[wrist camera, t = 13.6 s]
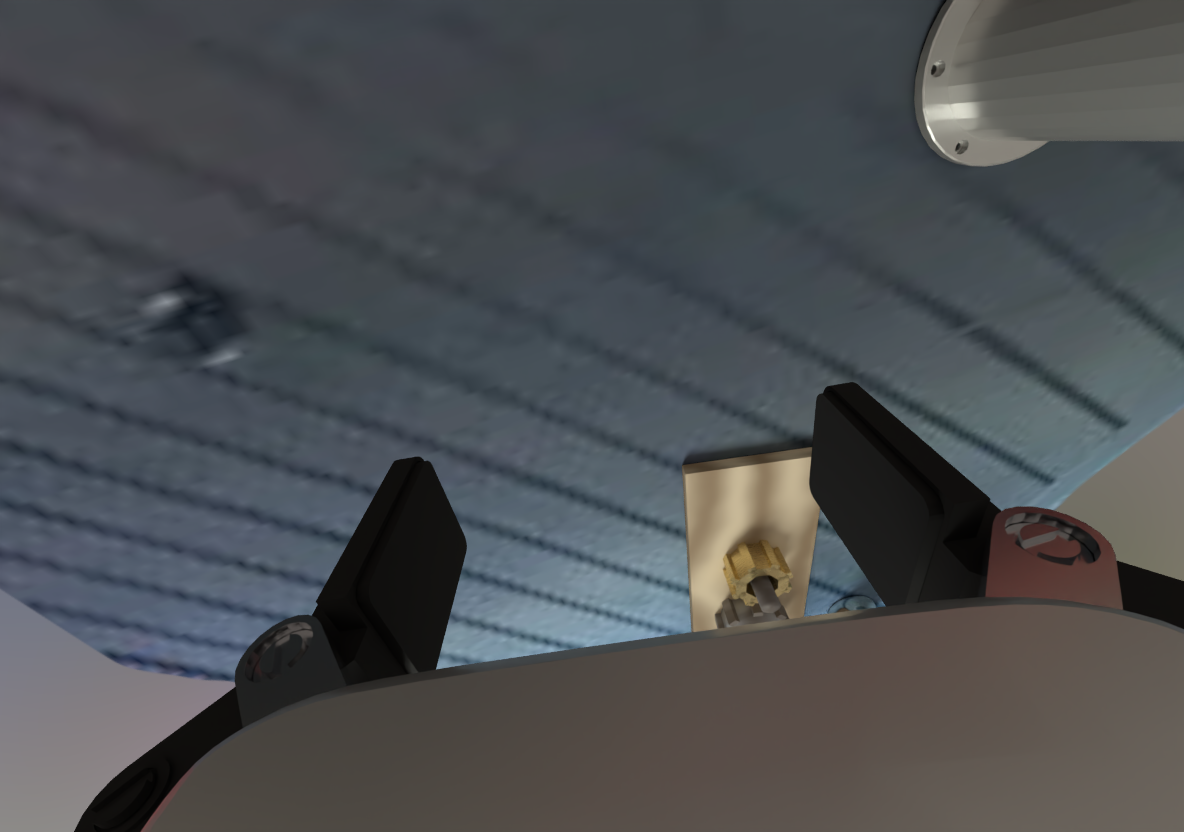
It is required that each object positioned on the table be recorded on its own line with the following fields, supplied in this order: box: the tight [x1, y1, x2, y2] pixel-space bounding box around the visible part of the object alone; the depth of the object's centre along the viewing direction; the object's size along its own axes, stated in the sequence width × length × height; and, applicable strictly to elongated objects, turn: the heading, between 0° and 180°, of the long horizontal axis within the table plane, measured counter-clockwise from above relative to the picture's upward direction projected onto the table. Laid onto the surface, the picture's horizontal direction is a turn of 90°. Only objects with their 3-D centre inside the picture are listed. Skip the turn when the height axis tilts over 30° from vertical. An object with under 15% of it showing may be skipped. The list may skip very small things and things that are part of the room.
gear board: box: [682, 447, 820, 632], centre depth 50 cm, size 14×29×8 cm, turn 8°
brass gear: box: [723, 539, 793, 606], centre depth 51 cm, size 7×7×4 cm
